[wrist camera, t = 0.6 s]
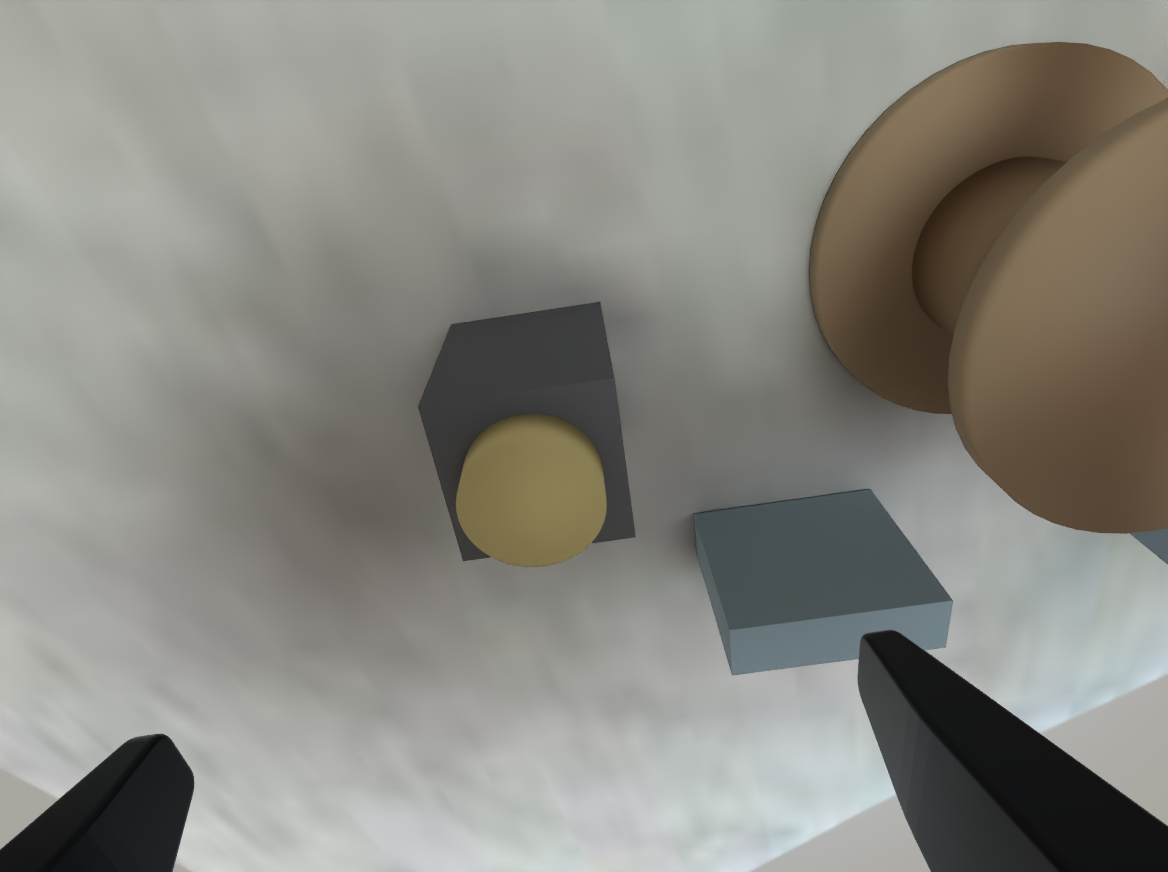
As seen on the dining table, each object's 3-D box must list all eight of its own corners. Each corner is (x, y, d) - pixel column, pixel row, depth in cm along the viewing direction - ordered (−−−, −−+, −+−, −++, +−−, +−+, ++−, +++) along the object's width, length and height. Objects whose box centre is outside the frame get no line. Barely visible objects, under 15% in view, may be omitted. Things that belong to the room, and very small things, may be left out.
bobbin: (1213, 12, 15) (1657, -23, 9) (1120, 376, 20) (1378, 519, 13) (812, 77, 16) (979, 86, 9) (806, 422, 20) (919, 581, 14)
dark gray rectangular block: (599, 301, 18) (619, 404, 13) (617, 432, 20) (641, 571, 15) (451, 324, 18) (406, 434, 13) (483, 452, 20) (456, 597, 15)
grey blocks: (1284, 431, 21) (1480, 530, 16) (1266, 475, 21) (1449, 581, 17) (693, 514, 21) (729, 630, 17) (697, 554, 22) (732, 675, 18)
